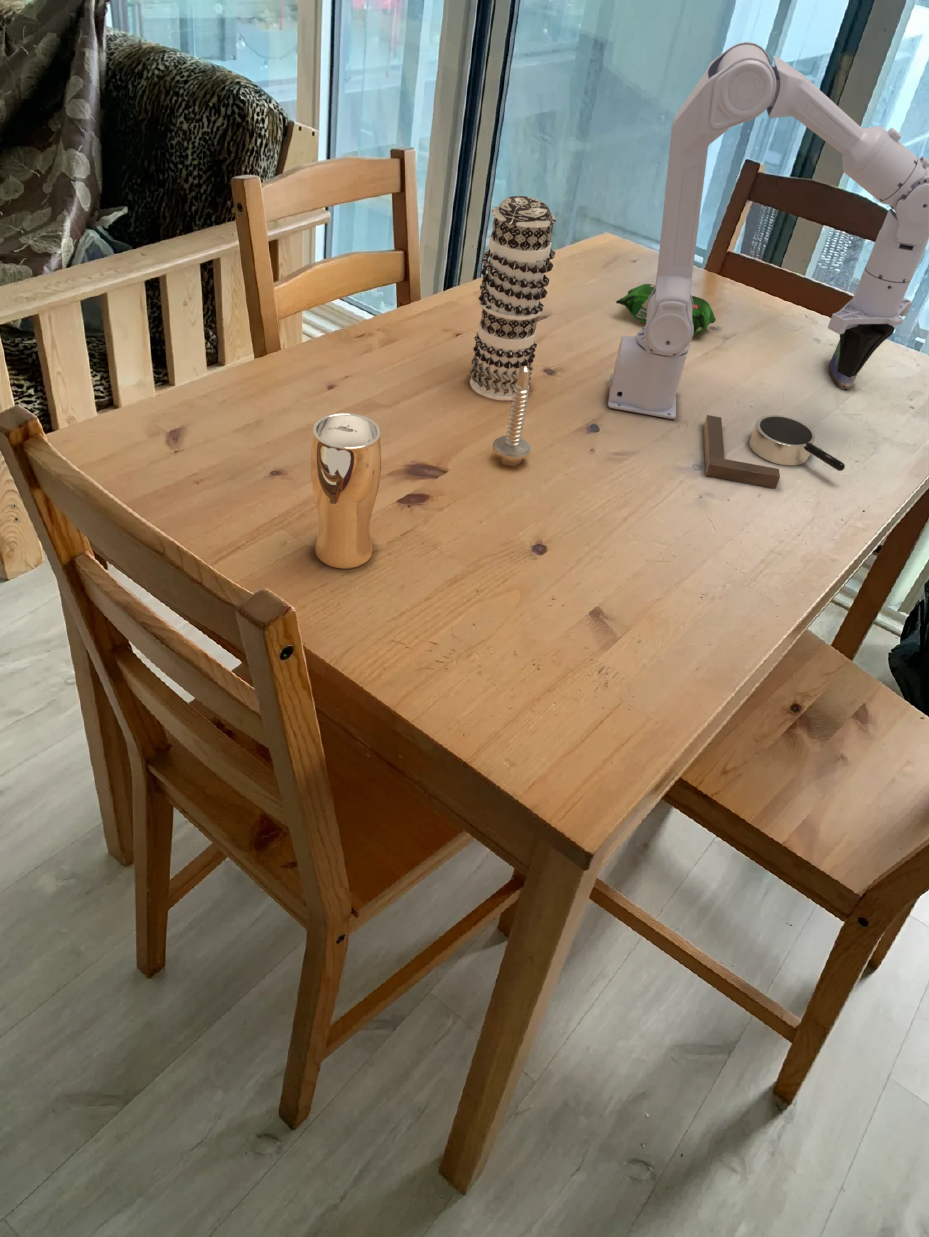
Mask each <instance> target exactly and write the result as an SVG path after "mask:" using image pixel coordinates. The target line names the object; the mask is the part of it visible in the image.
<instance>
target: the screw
mask: <svg viewBox="0 0 929 1237" xmlns="http://www.w3.org/2000/svg"><path fill="white" fill-rule="evenodd" d="M529 375H530V370H529V369H528V368H527V367H526V366H523V367H520V368H519V375H518V381H517V384H515V386H516V388H514V391H515V392H514V393H513V395H514V397H513V398H512V399H513V400H511V404H512V405H511V406H510V410H509V413H510V414H509V419H508V424H507V425H508V427H507V430H508V431H506V435H502V436H499V437H497V438H496V439H495V440H493V442H492V450H493V451H494V452H495V453H496V454H497V455H498V456H499V457H498V458H499V460H500V462H501V464H502V465H505V466H509V467H515V466H517V465H520V464H521V463H522V460H523V459H526V458H528V457H529V456H530V455H531V453H532V446H531V444H530V443H529V442H528V441H527V440H526V439H524V438H523V437H522V434H523V430H524V422H525V417H526V413H527V410H526V409H527V407H528V406H527V404H528V400H529V397H528V396H529V395H530V392H529V391H530V386H529V387H528V381H529ZM530 376H531V375H530ZM529 382H530V381H529Z"/></svg>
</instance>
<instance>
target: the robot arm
mask: <svg viewBox="0 0 929 1237" xmlns="http://www.w3.org/2000/svg"><path fill="white" fill-rule="evenodd" d="M772 59H773V62H774V66H773V65H771V60H770V56H769V54H768V53H767V51H766V50H765V48H763V47H762V46H761V45H759V44H758V43H755V42H753V41H743V42H739V43H736V44H734V45H732V46H730V47H728V48H727V49H726V50H725V51H724V52H722V53H721V54H720V55H718V56H717V57H715V59H713V60H712V61H710V63H708V65H707V67H706V69H705V71H704V72H703V74H702V76H701V77H700V79H699V80H698V82H697V83H696V85H695V86H694V87H693V89H692V91H691V92H690V93H689V95H688V96H687V97H686V99H685V100H684V102H683V103H682V105H681V106H680V108H678V111H677V112H676V113H675V115H674V117H673V120H672V123H671V129H670V130H671V132H670V140H669V151H668V159H667V160H668V161H667V171H666V172H667V173H666V180H665V189H664V201H663V211H662V220H661V221H662V222H661V230H660V231H661V232H660V242H659V250H658V260H657V271H656V277H655V284H654V285H655V288H654V290H653V291H652V293H651V295H650V296H649V298H648V301H647V306H646V310H647V318H646V323H645V325H644V326H643V327H642V328H641V330H639V331H638V333H637V334H636V335H634V336H633V335H632V336H627V335H623V336H621V339H620V341H619V346H618V349H617V350H618V351H617V355H616V358H615V363H614V367H613V371H612V373H611V374H610V376H609V381H608V387H609V392H608V401H607V406H608V408H610V409H613V410H614V409H615V410H620V411H625V412H626V411H627V412H630V413H631V412H632V413H635V414H636V413H637V414H641V415H648V416H653V417H659V418H664V419H671V420H674V419H676V417H677V391H678V389H679V384H680V381H681V379H682V378H681V377H682V374H683V371H684V367H685V363H686V360H687V358H688V354H689V350H690V346H691V345H690V344H691V342H692V340H693V338H694V335H693V334H694V326H693V323H692V311H693V299H692V296H693V295H692V282H693V272H694V264H695V255H696V248H697V240H698V232H699V224H700V216H701V208H702V200H703V191H704V184H705V175H706V167H707V159H708V151H709V147H710V145H711V144H712V143H714V141H716V140H717V139H718V138H719V137H722V135H723V134H725V133H726V132H727V131H729V130H730V129H731V128H733V127H736V126H740V125H742V124H744V123H747V122H749V121H751V120H753V119H756V118H758V117H759V116H761V115H762V114H763V113H764V112H765V111H766V112H767V117H768V118H769V119H778V118H786V117H787V118H788V117H792V118H794V119H795V120H796V121H798V122H799V123H801V125H803V126H805V127H806V128H808V129H809V130H810V131H811V132H812V133H814V134H815V135H816V136H818V137H819V138H820V139H822V140H823V141H824V142H826V143H827V144H828V145H830V146H831V147H832V148H834V149H835V150H836V151H837V152H839V153H840V154H841V155H842V164H841V165H842V167H841V168H842V169H841V170H842V172H843V173H844V174H845V175H847V176H848V178H850V179H851V180H853V182H855V183H856V184H857V185H859V186H860V187H861V188H862V189H864V190H865V192H867V193H868V194H869V195H870V196H872V197H873V198H875V199H876V200H877V201H878V202H879V203H881V204H882V205H887V206H889V207H890V208H889V209H888V211H887V214H886V216H885V219H884V222H883V223H882V226H881V228H880V229H879V232H878V234H877V237H876V239H875V242H874V244H873V247H872V249H871V251H870V254H869V256H868V259H867V261H866V264H865V267H864V269H863V272H862V274H861V276H860V279H859V281H858V284H857V286H856V289H855V292H854V294H853V297H852V298H851V299H850V300H849V301H848V302H847V303H846V304H845V305H844V306H843V307H842V308H840V310H838V311H836V312H835V313H832V315H831V318H830V320H829V323H828V325H827V329H828V330H830V331H832V332H834V333H836V334H838V335H839V340H840V354H839V361H838V369H837V371H838V372H839V373H841V374H843V375H845V376H847V377H849V378H850V377H852V376H856V375H857V376H858V374H859V373H860V371H861V370H862V369H863V367H864V366H865V364H866V363H867V361H868V360H869V359H870V357H871V356H872V355H873V353H874V352H875V351H876V350H877V349H878V348H879V347H880V346H881V345H882V344H883V343H884V342H885V341H886V340H887V339H888V338H889V337H891V336H892V335H893V334H894V331H895V330H896V329H895V327H896V326H899V325H900V326H901V325H902V323H903V321H904V317H906V316H908V313H909V312H910V309H911V307H912V305H913V303H914V302H913V301H912V300H910V299H907V298H906V297H905V296H906V293H907V291H908V289H909V286H910V283H911V282H912V279H913V278H914V275H915V272H916V270H917V268H918V266H919V263H920V261H921V258H922V256H923V255H924V252H925V249H926V247H927V245H928V242H929V159H928V158H927V157H926V156H924V155H922V156H921V157H920V158H919V157H918V156H917V155H915V153H913V152H912V151H911V150H910V149H909V148H908V147H906V146H905V145H904V144H903V143H901V142H900V139H901V138H902V135H901V134H900V132H898V131H897V130H896V129H895V128H894V127H890V128H889V129H888V130H886V129H885V128H884V127H882V126H880V125H878V126H877V125H876V126H872V127H865V128H864V127H863V128H862V127H861V126H860V125H859V124H858V123H857V122H856V121H855V120H854V119H853V118H851V116H849V115H848V114H847V113H846V112H844V110H843V109H841V107H839V106H838V105H837V104H836V103H835V102H834V101H833V100H832V99H831V98H830V97H828V96H827V95H826V94H825V93H824V92H823V91H821V89H819V88H818V87H817V86H816V85H815V84H814V83H813V82H812V81H811V80H810V79H809V78H807V76H805V75H804V74H803V73H801V72H800V71H799V70H798V69H796V68H794V67H793V66H791V65H790V64H788V63H787V62H786V61H784V60H783V59H781V58H780V57H777V56H775V55H772ZM857 376H856V377H857Z"/></svg>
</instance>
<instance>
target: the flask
mask: <svg viewBox="0 0 929 1237" xmlns="http://www.w3.org/2000/svg"><path fill="white" fill-rule="evenodd" d="M839 354H840V339H839V341H838V342H837V345H836V347H835V350H834V352H833V354H832V356H831V358H830V360H829V363H828V365H827V369H828V374H830V377H831V379H832V381H833V383H834V384H835V385H836V386H837V387H838V388H839V389H842V390H850V389H852V388H853V385H854V382H855V380H856V378H857V376H858V374H857V375H856V376H852V377H850V378H849V377H847V376H845V375H843V374H841V373H839V372H838V371H837V369H838V361H839Z"/></svg>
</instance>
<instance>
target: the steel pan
mask: <svg viewBox="0 0 929 1237" xmlns="http://www.w3.org/2000/svg"><path fill="white" fill-rule="evenodd" d="M816 436H817V435H816V433H815V432H814V430H813V429H812V428H811V427H810V426H808V425H807V424H805V423H803V422H802V421H799V420H797V419H795V418H792V417H788V416H784V415H777V414H776V415H775V414H774V415H773V414H772V415H770V414H769V415H765V416H761V417H760V418H759V419H757V421H756V422H755V425H754V428H753V431H752V434H751V436H750V439H749V447H750V449H751V450H752V452H753V453H755V454H756V455H757V456H758V457H759V458H761V459H763V460H765V461H767V462H770V463H773V464H776V465H779V466H780V465H781V466H789V467H790V466H792V467H793V466H794V467H795V466H799V465H803V464H804V463H806V462H807V461H808V459H809V458H810V455H812V456H814V457H816V458H817V459H819V460H820V461H822V462H824V463H825V464H826V465H828V466H829V467H831V468H833V469H835V470H836V471H838V472H842V471H843V470H845V468H846V466H845V463H844V462H842V461H841V460H839V459H838V458H836V457H834V456H833V455H831V454H829V453H828V452H826V451H825V450H823V449H821V448H820V447H818V446H816V445H815V442H816V439H817V437H816Z"/></svg>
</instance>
